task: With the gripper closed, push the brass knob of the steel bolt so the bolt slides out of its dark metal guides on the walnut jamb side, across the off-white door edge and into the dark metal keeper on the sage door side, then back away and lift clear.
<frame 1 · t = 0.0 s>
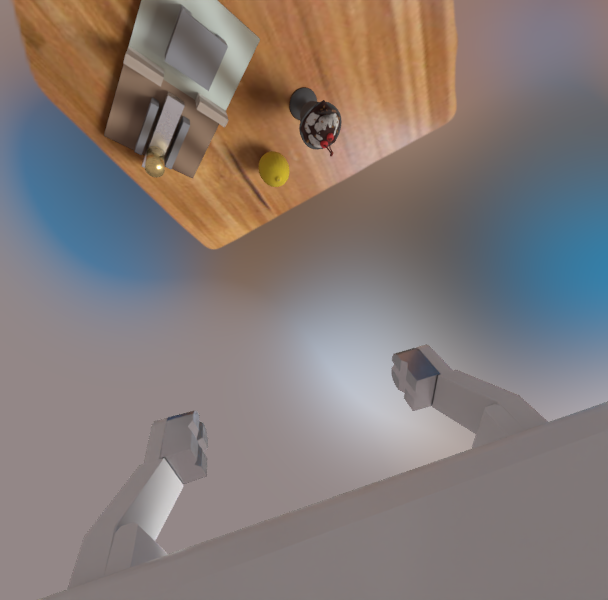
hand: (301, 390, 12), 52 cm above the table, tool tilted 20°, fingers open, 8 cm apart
bolt: (161, 141, 45), point 5 cm above the table, slide at 0.0 cm
lock board: (178, 86, 45), on the table
sundae: (303, 104, 51), on the table
lemon: (269, 158, 57), on the table
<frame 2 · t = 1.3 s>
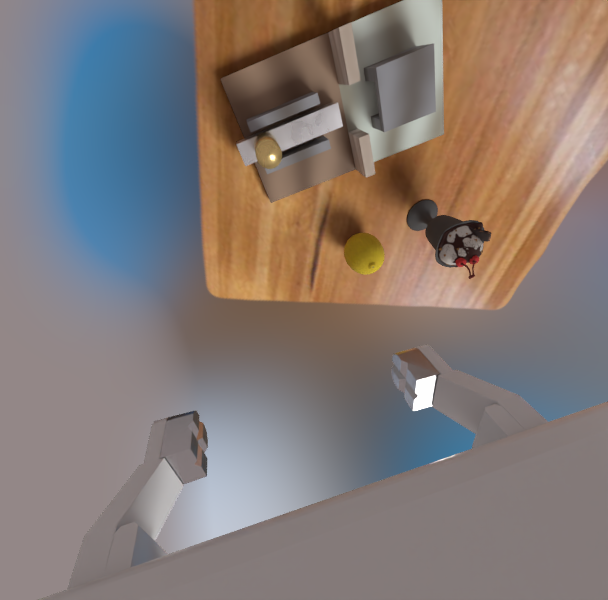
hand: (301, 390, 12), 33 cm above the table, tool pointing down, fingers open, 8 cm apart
bolt: (292, 137, 32), point 5 cm above the table, slide at 0.0 cm
lock board: (341, 108, 35), on the table
sundae: (421, 215, 46), on the table
lemon: (354, 240, 47), on the table
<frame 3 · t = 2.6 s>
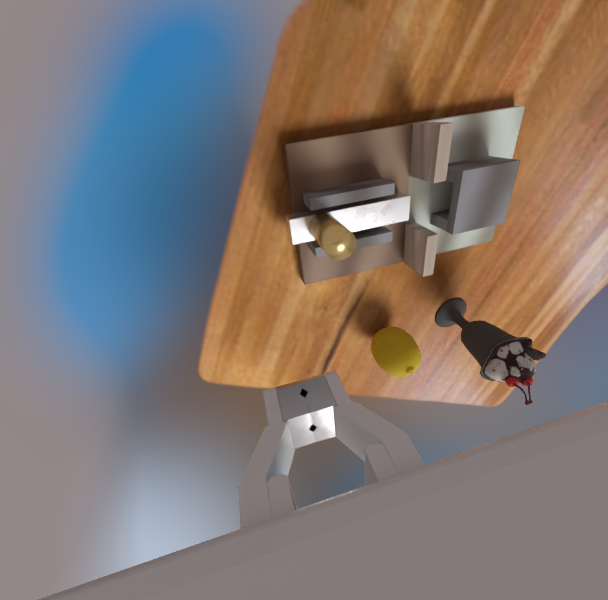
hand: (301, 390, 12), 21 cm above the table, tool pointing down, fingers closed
bolt: (359, 225, 27), point 5 cm above the table, slide at 0.0 cm
lock board: (401, 198, 32), on the table
sundae: (449, 312, 43), on the table
lemon: (379, 331, 41), on the table
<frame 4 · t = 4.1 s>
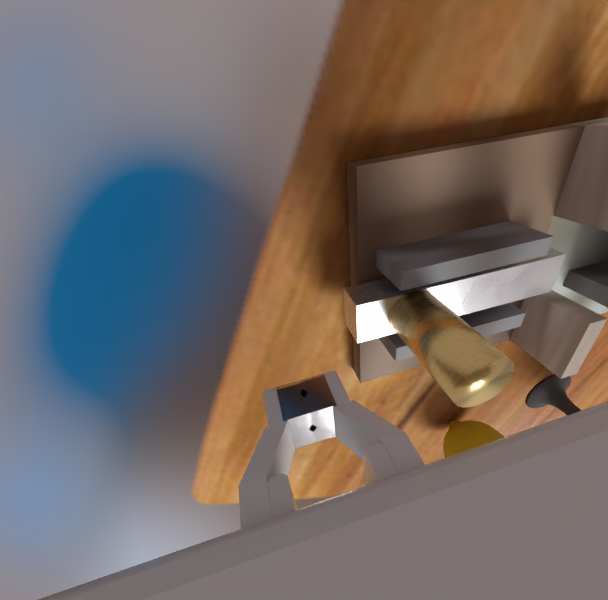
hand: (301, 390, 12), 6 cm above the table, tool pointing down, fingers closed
bolt: (485, 314, 14), point 5 cm above the table, slide at 0.0 cm
lock board: (523, 248, 19), on the table
sundae: (545, 389, 31), on the table
lemon: (450, 419, 29), on the table
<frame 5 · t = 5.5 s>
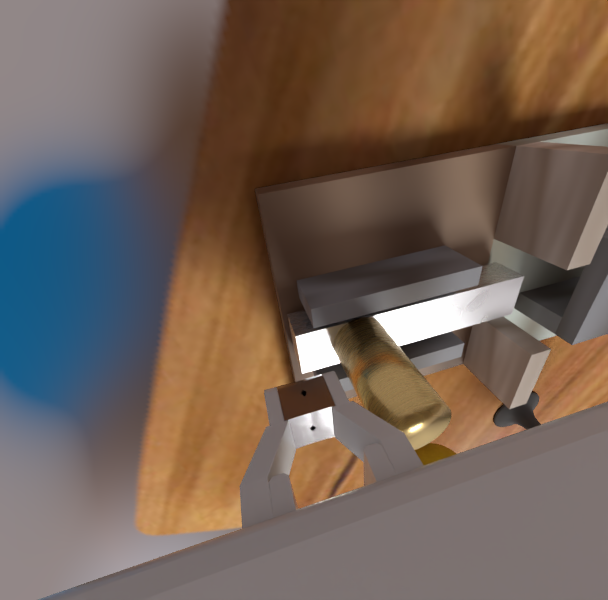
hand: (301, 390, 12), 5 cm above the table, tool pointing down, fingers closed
bolt: (434, 344, 13), point 5 cm above the table, slide at 1.2 cm, touching gripper
lock board: (469, 270, 18), on the table
sundae: (513, 407, 30), on the table
lemon: (414, 441, 28), on the table
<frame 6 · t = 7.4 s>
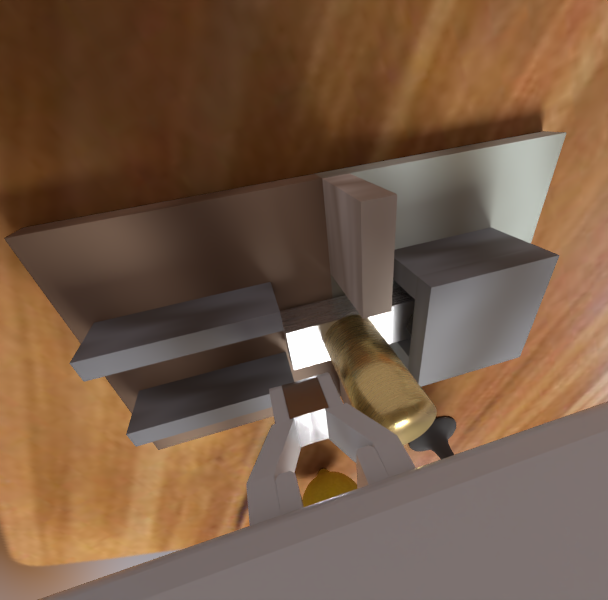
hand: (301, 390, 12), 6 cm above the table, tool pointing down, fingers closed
bolt: (424, 341, 13), point 5 cm above the table, slide at 10.1 cm, touching gripper
lock board: (327, 302, 17), on the table
sundae: (430, 432, 28), on the table
lemon: (321, 467, 27), on the table
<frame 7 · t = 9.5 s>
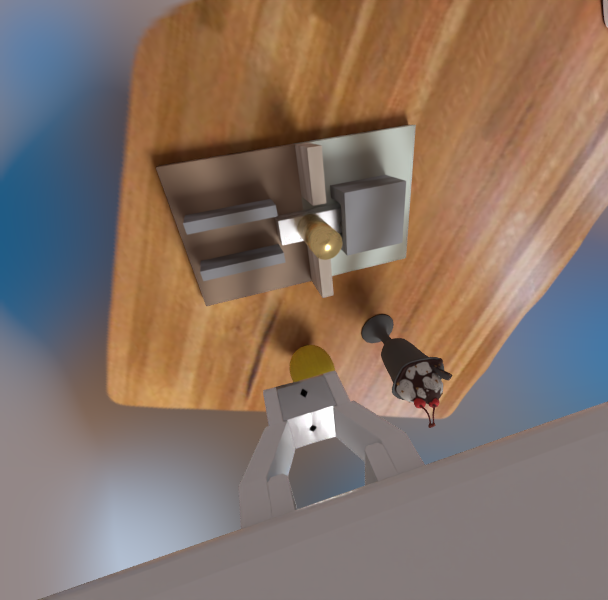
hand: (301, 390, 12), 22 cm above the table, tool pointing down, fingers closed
bolt: (345, 225, 28), point 5 cm above the table, slide at 10.0 cm
lock board: (301, 218, 31), on the table
sundae: (376, 328, 42), on the table
lemon: (303, 348, 41), on the table
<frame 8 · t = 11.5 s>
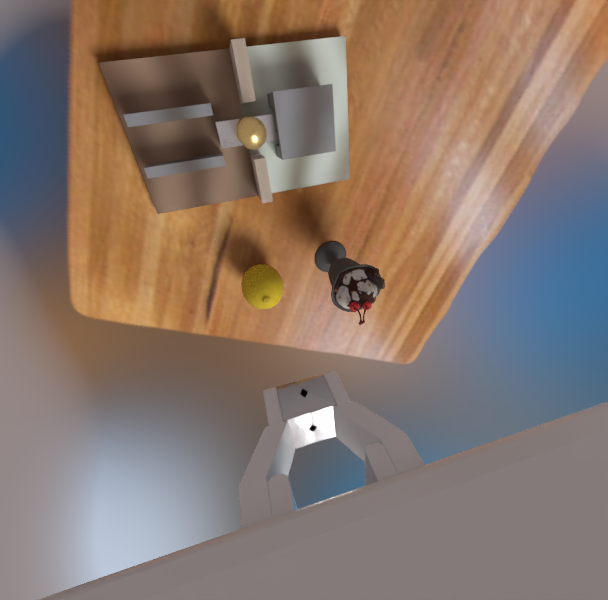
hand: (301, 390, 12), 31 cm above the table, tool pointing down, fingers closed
bolt: (278, 127, 30), point 5 cm above the table, slide at 10.0 cm
lock board: (244, 130, 34), on the table
sundae: (330, 256, 45), on the table
lemon: (258, 272, 43), on the table
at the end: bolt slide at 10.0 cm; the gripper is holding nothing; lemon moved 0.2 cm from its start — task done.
